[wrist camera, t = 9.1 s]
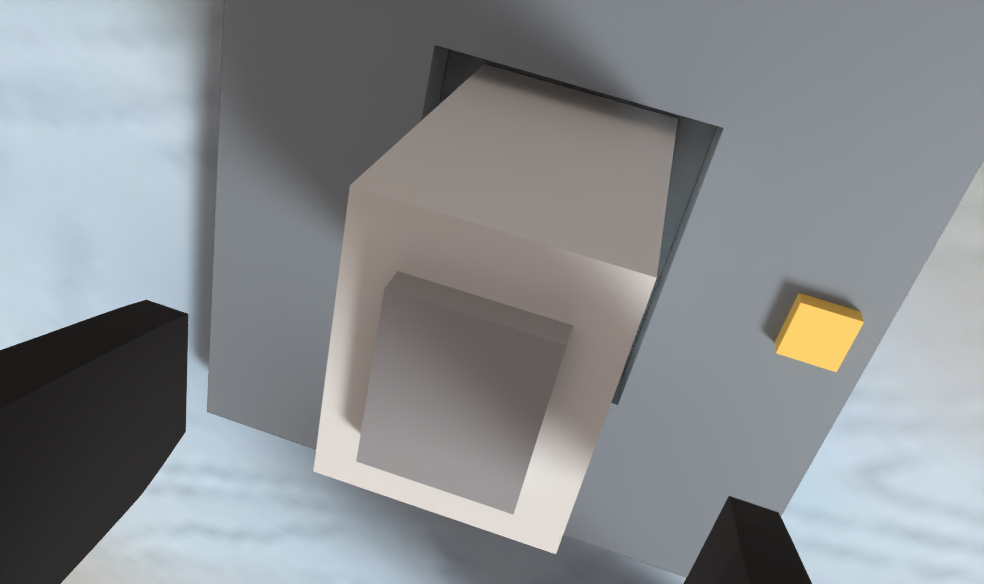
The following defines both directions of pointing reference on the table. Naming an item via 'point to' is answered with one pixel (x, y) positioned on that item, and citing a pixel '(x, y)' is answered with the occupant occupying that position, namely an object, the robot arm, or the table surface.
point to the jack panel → (699, 240)
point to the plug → (493, 301)
